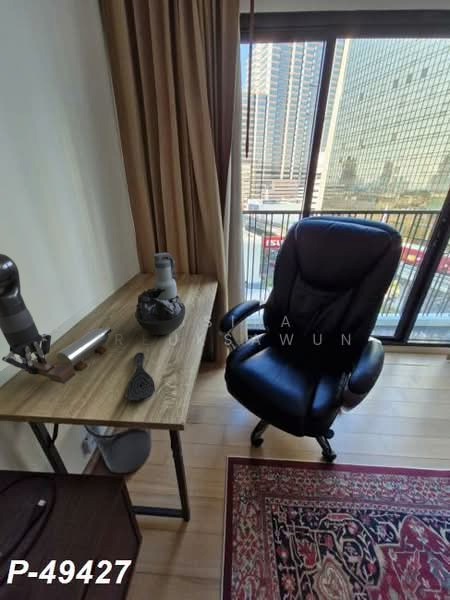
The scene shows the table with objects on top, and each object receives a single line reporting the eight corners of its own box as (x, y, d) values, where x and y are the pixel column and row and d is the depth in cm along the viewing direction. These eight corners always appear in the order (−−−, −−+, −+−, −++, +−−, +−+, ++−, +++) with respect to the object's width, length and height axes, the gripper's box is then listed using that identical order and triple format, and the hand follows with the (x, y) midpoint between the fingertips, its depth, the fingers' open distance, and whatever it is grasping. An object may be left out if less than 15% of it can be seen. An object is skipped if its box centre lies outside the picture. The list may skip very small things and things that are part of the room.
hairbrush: (150, 345, 93) (154, 392, 71) (151, 353, 94) (156, 402, 72) (126, 350, 90) (123, 400, 69) (128, 358, 92) (126, 410, 70)
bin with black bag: (157, 315, 118) (150, 278, 109) (195, 322, 112) (192, 283, 103) (128, 339, 101) (119, 298, 93) (172, 349, 95) (165, 305, 86)
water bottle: (174, 303, 129) (168, 249, 117) (182, 310, 122) (176, 254, 109) (155, 308, 124) (146, 253, 112) (162, 316, 117) (153, 258, 104)
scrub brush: (22, 373, 80) (17, 366, 79) (35, 364, 84) (31, 357, 82) (63, 384, 73) (59, 376, 72) (76, 374, 77) (73, 366, 75)
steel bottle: (77, 374, 84) (70, 355, 80) (60, 368, 86) (52, 350, 83) (119, 340, 100) (115, 323, 97) (103, 337, 103) (99, 320, 99)
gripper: (32, 311, 79) (51, 354, 87) (-19, 335, 67) (8, 383, 75) (49, 315, 76) (67, 359, 84) (-1, 340, 65) (25, 389, 73)
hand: (39, 370), depth 80 cm, fingers closed on scrub brush, 2 cm apart
